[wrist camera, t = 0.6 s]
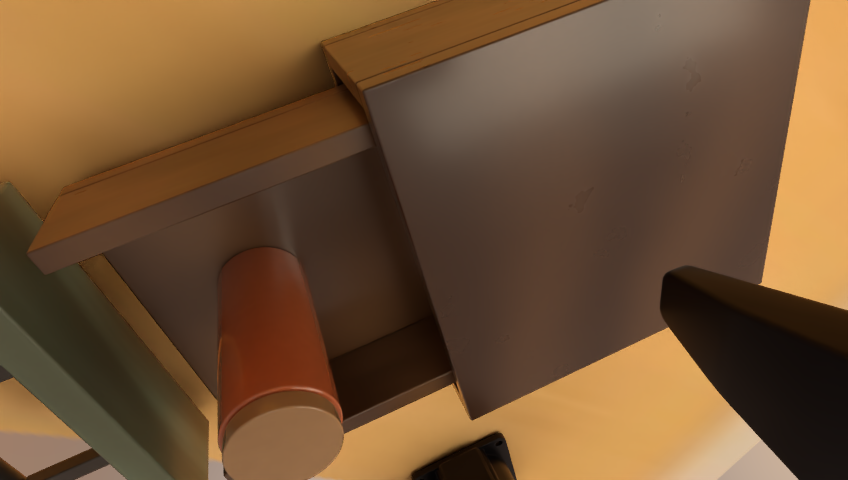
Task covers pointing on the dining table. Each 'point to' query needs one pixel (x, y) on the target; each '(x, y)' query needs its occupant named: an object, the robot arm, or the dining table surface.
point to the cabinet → (573, 164)
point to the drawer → (211, 282)
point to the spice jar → (273, 372)
